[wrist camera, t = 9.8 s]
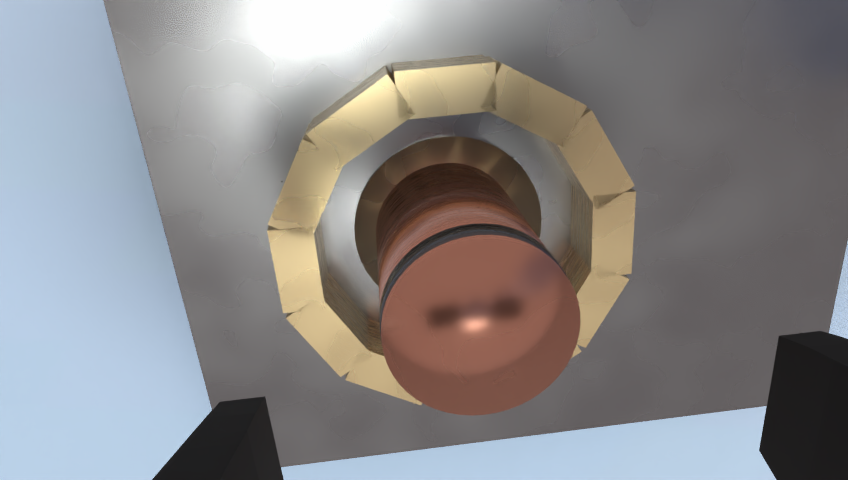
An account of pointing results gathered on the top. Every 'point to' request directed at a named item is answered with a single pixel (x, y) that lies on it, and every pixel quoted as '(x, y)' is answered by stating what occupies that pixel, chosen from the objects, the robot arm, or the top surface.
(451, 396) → the round knob
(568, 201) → the collar plate
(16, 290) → the top surface
